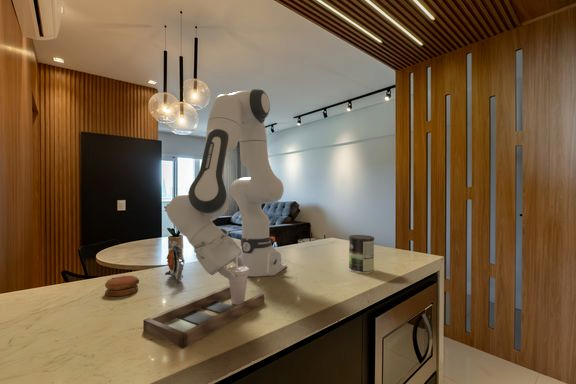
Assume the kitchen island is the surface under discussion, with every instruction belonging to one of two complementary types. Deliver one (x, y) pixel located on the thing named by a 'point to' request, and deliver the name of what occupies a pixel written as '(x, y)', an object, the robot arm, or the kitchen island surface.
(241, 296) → the smoothie
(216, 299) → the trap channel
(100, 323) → the kitchen island surface
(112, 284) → the burger
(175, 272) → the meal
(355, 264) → the coffee can
